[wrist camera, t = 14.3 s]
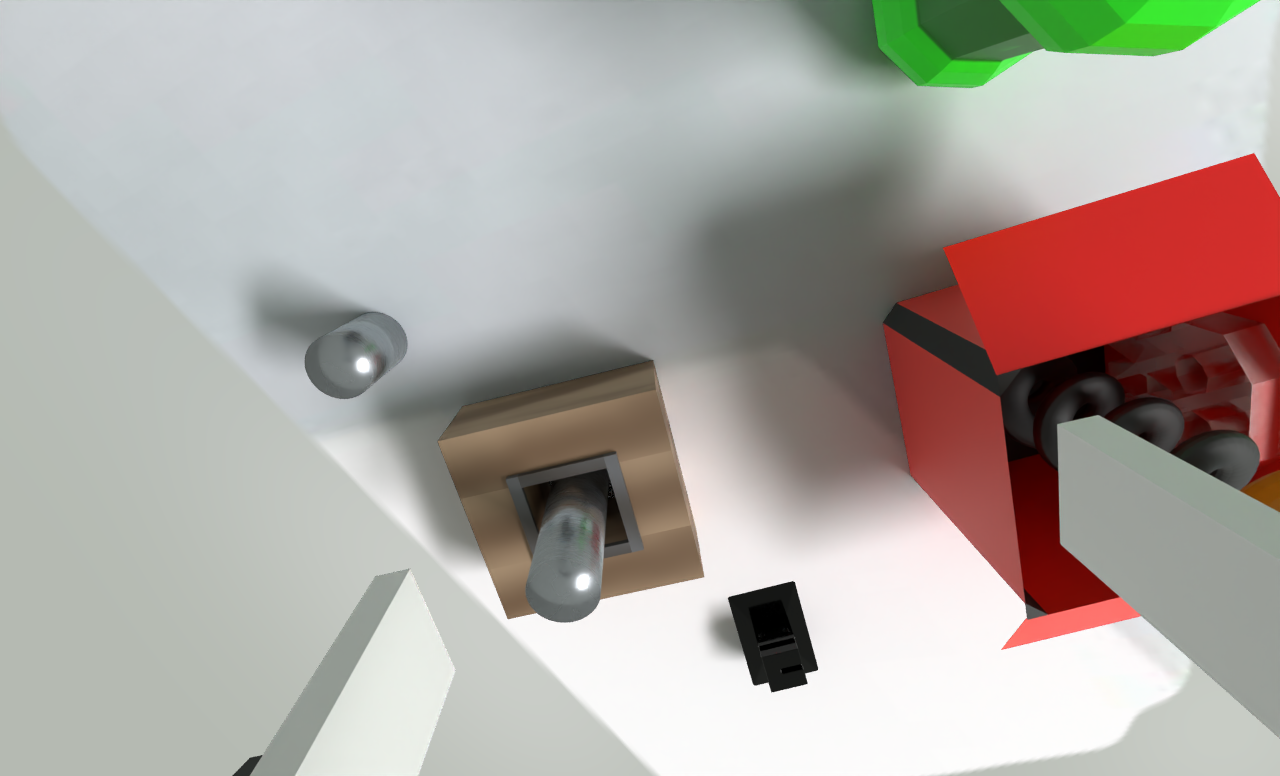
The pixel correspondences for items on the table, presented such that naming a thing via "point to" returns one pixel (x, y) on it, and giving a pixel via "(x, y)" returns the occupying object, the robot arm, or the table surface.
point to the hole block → (567, 446)
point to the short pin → (355, 355)
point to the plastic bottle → (1033, 32)
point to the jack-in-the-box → (1094, 367)
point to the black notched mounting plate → (774, 636)
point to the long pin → (570, 549)
